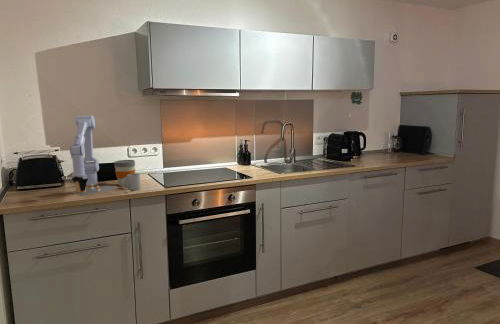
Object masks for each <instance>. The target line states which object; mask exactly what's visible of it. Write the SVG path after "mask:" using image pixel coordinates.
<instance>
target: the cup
mask: <svg viewBox="0 0 500 324" xmlns="http://www.w3.org/2000/svg"><path fill="white" fill-rule="evenodd" d="M140 174H141V173H135V174H128V175H127V177H125V178H124V179H123V186H122V187H124V188H126V189H127V190H128V191H132V192H134V191H139V190H141V189H142V188H141V185H142V184H141V175H140ZM126 180H128V185H126Z"/></svg>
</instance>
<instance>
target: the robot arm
mask: <svg viewBox="0 0 500 324" xmlns="http://www.w3.org/2000/svg"><path fill="white" fill-rule="evenodd" d="M74 119H75V125H76V127H77V132H76V133H77V134H76V135H75V136H74V139H73V143H72V145H71V146H70V147H69V154H70V158H71V159H72V167H73V168H72V169H73V170H72V171H73V172H72V174H71V180H72V181H73V183H74V184H75V182H76V181H78V183H79V186H80V190H81V191H84V190H85V188H86V189H87V186H89V187H90V184H93V186H95V185H96V186H97V185H98V174H97V173H98V172H99V170H100V164H99V160H98V158H97V157H95V156H94V145H93V130H95V129H96V120H95V116H94V115H93V114H92V115H76V116H75V118H74Z"/></svg>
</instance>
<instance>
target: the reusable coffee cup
mask: <svg viewBox="0 0 500 324" xmlns="http://www.w3.org/2000/svg"><path fill="white" fill-rule="evenodd" d="M114 168H115V170H114V173H115V176H116V178H117V182H118V186H120V187H124V186H123V179H124V178H125V177H127V175H128V174H136V161H135V160H134V159H122V160H115V161H114ZM126 185H128V180H126Z"/></svg>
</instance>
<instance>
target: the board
mask: <svg viewBox="0 0 500 324" xmlns="http://www.w3.org/2000/svg"><path fill="white" fill-rule="evenodd" d="M118 189H119V188H117V187H115V186H112V185H108V184H107V185H101V186H99V185H96V186H95V187H94V185H93V184H90V186H89V187H88V188H86V192H83V193H76V190H73V191H71V194H75V195H77V196H80V197H82V196H86V195H87V196H88V195H91V194H97V193H102V192H108V191H112V190H118Z"/></svg>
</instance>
